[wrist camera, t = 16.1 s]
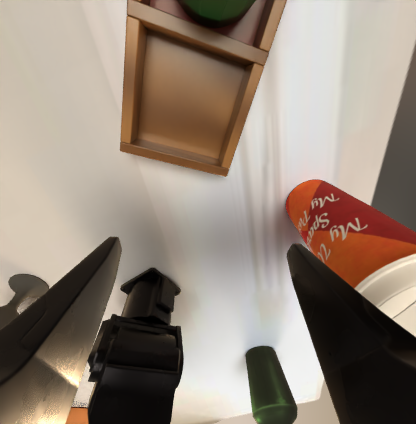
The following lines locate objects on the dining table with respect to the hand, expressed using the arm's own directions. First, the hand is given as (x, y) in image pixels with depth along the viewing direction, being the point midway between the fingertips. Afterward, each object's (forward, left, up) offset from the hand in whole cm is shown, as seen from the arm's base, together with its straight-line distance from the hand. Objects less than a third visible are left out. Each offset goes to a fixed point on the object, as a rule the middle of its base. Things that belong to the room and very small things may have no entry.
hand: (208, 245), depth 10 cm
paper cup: (+8, -11, -12) cm, 18 cm away
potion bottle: (-14, -42, -12) cm, 46 cm away
